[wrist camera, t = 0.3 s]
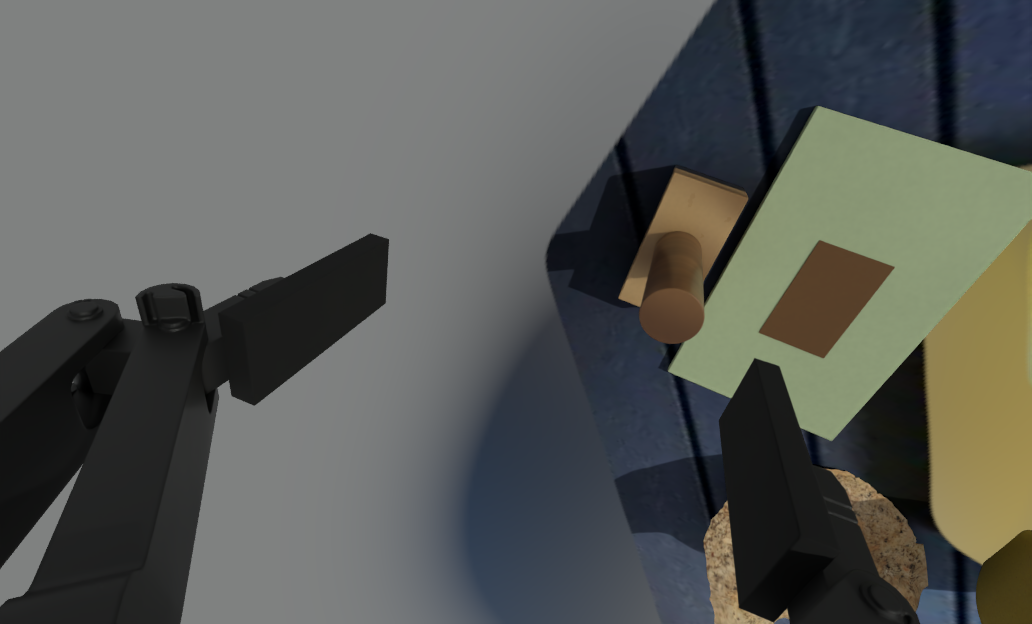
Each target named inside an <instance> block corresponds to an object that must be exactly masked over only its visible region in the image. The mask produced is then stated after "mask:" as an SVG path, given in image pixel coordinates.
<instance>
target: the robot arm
mask: <svg viewBox="0 0 1032 624" xmlns="http://www.w3.org/2000/svg"><path fill="white" fill-rule="evenodd" d="M388 247H389V239H386V238H383V237H380V236H377V235H374V234H371V233H370V234H369V235H367V236H365V237H363V238H361V239H359V240H357V241H355V242H353V243H351V244H349V245H348V246H345V247H344V248H342V249H340V250H338V251H336V252H334V253H332V254H330V255H328V256H326V257H325V258H322V259H321V260H319V261H317V262H315V263H313V264H311V265H309V266H307V267H305V268H303V269H301V270H299V271H298V272H296V273H294V274H292V275H290V276H288V277H286V278H283V277H279V278H274V279H270V280H266V281H262V282H261V283H259V284H257V285H254V286H252V287H250V288H249V290H245V291H243V292H240V293H239V294H238V295H237V296H236V295H235V296H232V297H231V298H229V299H227V300H225V301H223V302H221V303H219V304H217V305H215V306H213V307H211V308H209V309H207V310H205V311H203V308H202V303H201V297H200V292H199V290H198V289H196V288H195V287H194V286H190V285H187V284H178V283H171V284H161V285H157V286H153V287H149V288H147V289H145V290H143V291H141V292H140V293H139V294H138V295H137V296H136V297H135V298H136V302H137V306H138V309H139V313H140V316H141V320H142V321H137V320H130V319H122V317H121V314H120V310H119V307H118V305H117V304H116V303H114V302H112V301H109V300H103V299H84V300H78V301H74V302H72V303H69V304H66V305H63V306H61V307H59V308H57V309H56V310H54V311H53V312H51V313H50V314H49V315H47V316H46V317H45V318H44V319H42V320H41V321H40V322H38V323H37V324H36V325H34V326H33V327H32V328H30V329H29V330H28V331H27V332H25V333H24V334H23V335H21V336H20V337H19V338H17V339H16V340H15V341H14V342H12V343H11V344H10V345H9V346H7V347H6V348H4V350H2V351H1V352H0V569H1V567H2V566H3V565H4V563H5V562H6V560H8V558H9V557H10V556H11V555H12V553H13V552H14V551H15V549H16V548H17V547H18V546H19V544H20V543H21V542H22V540H23V539H24V538H25V537H26V535H27V534H28V533H29V532H30V530H31V529H32V528H33V527H34V525H35V524H36V523H37V522H38V520H39V519H40V518H41V517H42V515H43V514H44V513H45V511H46V510H47V509H48V508H49V506H50V505H51V504H52V502H53V501H54V500H55V499H56V497H57V496H58V495H59V494H60V492H61V491H62V490H63V489H64V487H65V486H66V485H67V483H68V482H69V481H70V480H71V478H72V477H73V476H74V475H75V473H76V472H77V471H78V470H79V468H80V467H81V465H82V464H83V466H82V468H81V470H80V473H79V475H78V477H77V480H76V482H75V484H74V487H73V490H72V491H71V494H70V496H69V498H68V501H67V503H66V505H65V508H64V510H63V512H62V515H61V517H60V519H59V522H58V524H57V526H56V529H55V531H54V533H53V536H52V538H51V540H50V542H49V545H48V547H47V549H46V552H45V554H44V557H43V559H42V561H41V564H40V566H39V568H38V570H37V573H36V575H35V577H34V580H33V582H32V584H31V586H30V588H29V589H28V591H27V592H26V593H25V594H24V595H23V596H21V597H16V598H13V599H8V600H7V601H6V602H5V603H4V604H3V605H2V606H1V607H0V624H180V622H181V617H182V611H183V605H184V599H185V593H186V587H187V581H188V576H189V570H190V564H191V558H192V552H193V545H194V540H195V535H196V528H197V523H198V517H199V511H200V505H201V500H202V494H203V487H204V482H205V476H206V470H207V464H208V458H209V453H210V446H211V441H212V434H213V429H214V423H215V417H216V412H217V406H218V400H219V395H218V389H217V387H219V386H220V385H222V384H223V383H225V382H226V381H228V380H229V383H230V389H231V395H232V396H233V397H235V398H237V399H240V400H242V401H245V402H247V403H249V404H252V405H256V404H257V403H259V402H260V401H261V400H263V399H264V398H265V397H266V396H268V395H269V394H270V393H271V392H273V391H274V390H275V389H277V388H278V387H279V386H280V385H282V384H283V383H284V382H285V381H287V380H288V379H289V378H291V377H292V376H293V375H294V374H296V373H297V372H298V371H299V370H301V369H302V368H303V367H305V366H306V365H307V364H308V363H310V362H311V361H312V360H314V359H315V358H316V357H317V356H319V355H320V354H321V353H323V352H324V351H325V350H326V349H328V348H329V347H330V346H332V345H333V344H334V343H335V342H337V341H338V340H339V339H340V338H342V337H343V336H344V335H345V334H347V333H348V332H349V331H351V330H352V329H353V328H355V327H356V326H357V325H358V324H360V323H361V322H362V321H363V320H365V319H366V318H367V317H369V316H370V315H371V314H372V313H374V312H375V311H376V310H377V309H379V308H380V307H381V306H383V305H384V304H385V303H386V284H387V283H386V282H387V266H388ZM73 381H74V383H72V382H73ZM719 427H720V436H721V446H722V455H723V464H724V474H725V483H726V492H727V502H728V511H729V520H730V530H731V539H732V548H733V557H734V567H735V576H736V585H737V595H738V604H739V608H740V609H742V610H745V611H747V612H750V613H752V614H754V615H757V616H759V617H762V618H764V619H766V620H769V621H771V622H775V621H776V620H777V619H778V618H779V617H780V615H781V614H782V613H783V612H784V611H785V610H786V609H787V610H788V615H789V620H790V624H920V622H919V619H918V616H917V614H916V612H915V611H914V609H913V608H912V606H911V605H910V603H909V602H908V600H907V599H906V598H905V597H904V596H903V595H902V594H901V593H900V592H899V591H898V590H897V589H896V588H895V587H894V586H892V585H891V584H890V583H888V582H887V581H885V580H884V579H883V578H881V577H880V576H879V573H878V571H877V568H876V566H875V563H874V561H873V558H872V556H871V553H870V550H869V548H868V545H867V543H866V540H865V538H864V535H863V533H862V530H861V528H860V526H859V525H858V520H857V517H856V515H855V512H854V511H853V510H852V508H853V507H852V505H851V502H850V500H849V497H848V494H847V492H846V490H845V488H844V487H843V486H842V485H841V483H840V482H839V481H838V479H837V478H836V477H835V476H834V474H833V473H832V472H831V471H829V470H826V469H823V468H820V467H817V466H815V465H812V462H811V459H810V456H809V453H808V450H807V447H806V444H805V441H804V438H803V435H802V432H801V429H800V426H799V423H798V420H797V417H796V414H795V411H794V408H793V405H792V402H791V399H790V396H789V393H788V390H787V387H786V384H785V381H784V378H783V375H782V372H781V369H780V366H778V365H775V364H772V363H769V362H766V361H762V360H759V359H756V358H754V360H753V362H752V363H751V365H750V367H749V369H748V370H747V372H746V374H745V376H744V377H743V379H742V381H741V383H740V384H739V386H738V388H737V390H736V391H735V393H734V395H733V397H732V398H731V400H730V402H729V403H728V405H727V407H726V409H725V410H724V412H723V414H722V416H721V417H720V419H719Z"/></svg>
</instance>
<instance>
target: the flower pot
mask: <svg viewBox="0 0 1032 624" xmlns="http://www.w3.org/2000/svg"><path fill="white" fill-rule="evenodd" d="M976 603H977V609H978V614H979V617H980V620H981V623H982V624H1032V530H1025V531H1022V532H1021V533H1020V534H1018V535H1017V536H1016V537H1015V538H1014V539H1012V540H1011V541H1010V542H1009V543H1008V544H1006V545H1005V546H1004V547H1003V548H1002V549H1000V550H999V551H998V552H996V553H995V554H994V555H993V556H992V557H991V558H989V559H988V560H986V561H985V562H984V563H983V565H982V568H981V571H980V573H979V577H978V581H977V587H976Z"/></svg>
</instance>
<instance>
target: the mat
mask: <svg viewBox="0 0 1032 624" xmlns="http://www.w3.org/2000/svg"><path fill="white" fill-rule="evenodd" d="M1031 219H1032V172H1030V171H1027V170H1023V169H1020V168H1017V167H1014V166H1010V165H1007V164H1004V163H1001V162H998V161H994V160H991V159H988V158H985V157H981V156H978V155H975V154H972V153H969V152H965V151H962V150H959V149H956V148H952V147H949V146H946V145H943V144H940V143H936V142H933V141H930V140H927V139H923V138H920V137H917V136H914V135H910V134H907V133H904V132H901V131H898V130H894V129H891V128H888V127H885V126H881V125H878V124H875V123H872V122H869V121H865V120H862V119H859V118H856V117H852V116H849V115H846V114H843V113H840V112H836V111H833V110H830V109H827V108H823V107H820V106H816V107H815V108H814V110H813V112H812V114H811V115H810V117H809V119H808V121H807V123H806V124H805V126H804V128H803V130H802V131H801V133H800V135H799V137H798V138H797V140H796V142H795V144H794V146H793V147H792V149H791V151H790V153H789V154H788V156H787V158H786V160H785V162H784V163H783V165H782V167H781V169H780V170H779V172H778V174H777V176H776V177H775V179H774V181H773V183H772V185H771V186H770V188H769V190H768V192H767V193H766V195H765V197H764V199H763V201H762V202H761V204H760V206H759V208H758V209H757V211H756V213H755V215H754V217H753V218H752V220H751V222H750V224H749V225H748V227H747V229H746V231H745V232H744V234H743V236H742V238H741V240H740V241H739V243H738V245H737V247H736V248H735V250H734V252H733V254H732V256H731V257H730V259H729V261H728V263H727V264H726V266H725V268H724V270H723V271H722V273H721V275H720V277H719V279H718V280H717V282H716V284H715V286H714V287H713V289H712V291H711V293H710V295H709V296H708V298H707V300H706V302H705V303H704V315H705V318H704V323H703V326H702V328H701V330H700V331H699V332H698V333H697V335H695V336H694V337H693V338H691V339H690V340H688V341H685V342H682V344H681V346H680V348H679V350H678V351H677V353H676V355H675V357H674V358H673V360H672V362H671V364H670V366H669V367H668V372H670V373H672V374H675V375H677V376H679V377H682V378H684V379H686V380H689V381H691V382H694V383H696V384H698V385H701V386H703V387H705V388H708V389H710V390H712V391H715V392H717V393H719V394H722V395H724V396H727V397H729V398H732V397H733V395H734V393H735V391H736V390H737V388H738V386H739V384H740V383H741V381H742V379H743V377H744V376H745V374H746V372H747V370H748V369H749V367H750V365H751V363H752V362H753V360H754V358H756V359H759V360H762V361H766V362H769V363H772V364H775V365H778V366H780V369H781V372H782V375H783V378H784V381H785V384H786V387H787V390H788V393H789V396H790V399H791V402H792V405H793V408H794V411H795V414H796V417H797V420H798V423H799V426H800V428H802V429H804V430H807V431H809V432H811V433H814V434H816V435H819V436H821V437H823V438H826V439H828V440H830V441H832V440H833V439H834V438H835V437H836V436H837V435H838V433H839V432H840V431H841V430H842V429H843V428H844V427H845V426H846V425H847V423H848V422H849V421H850V420H851V419H852V418H853V417H854V416H855V415H856V413H857V412H858V411H859V410H860V409H861V408H862V407H863V406H864V405H865V403H866V402H867V401H868V400H869V399H870V398H871V397H872V396H873V395H874V393H875V392H876V391H877V390H878V389H879V388H880V387H881V386H882V385H883V383H884V382H885V381H886V380H887V379H888V378H889V377H890V376H891V375H892V373H893V372H894V371H895V370H896V369H897V368H898V367H899V366H900V365H901V363H902V362H903V361H904V360H905V359H906V358H907V357H908V356H909V354H910V353H911V352H912V351H913V350H914V349H915V348H916V347H917V346H918V344H919V343H920V342H921V341H922V340H923V339H924V338H925V337H926V336H927V334H928V333H929V332H930V331H931V330H932V329H933V328H934V327H935V326H936V324H937V323H938V322H939V321H940V320H941V319H942V318H943V317H944V316H945V314H946V313H947V312H948V311H949V310H950V309H951V308H952V307H953V306H954V304H955V303H956V302H957V301H958V300H959V299H960V298H961V297H962V295H963V294H964V293H965V292H966V291H967V290H968V289H969V288H970V287H971V285H972V284H973V283H974V282H975V281H976V280H977V279H978V277H980V275H981V274H982V273H983V272H984V271H985V270H986V269H987V268H988V267H989V265H990V264H991V263H992V262H993V261H994V260H995V259H996V258H997V256H998V255H999V254H1000V253H1001V252H1002V251H1003V250H1004V249H1005V248H1006V247H1007V245H1008V244H1009V243H1010V242H1011V241H1012V240H1013V239H1014V238H1015V237H1016V235H1017V234H1018V233H1019V232H1020V231H1021V230H1022V229H1023V228H1024V226H1025V225H1026V224H1027V223H1028V222H1029V221H1030V220H1031Z"/></svg>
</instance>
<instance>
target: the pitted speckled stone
mask: <svg viewBox="0 0 1032 624" xmlns="http://www.w3.org/2000/svg"><path fill="white" fill-rule="evenodd" d="M823 469H825V468H823ZM826 470H829V471H831V472H832V473H833V474H834V476H835V477H836V478H837V479H838V481H839V482H840V483H841V485H842V486H843V487H844V488H845V490H846V492H847V494H848V497H849V500H850V502H851V505H852V507H853V508H852V510H853V511H854V512H855V515H856V517H857V520H858V525H859V526H860V528H861V530H862V533H863V535H864V538H865V540H866V543H867V545H868V548H869V550H870V553H871V556H872V558H873V561H874V563H875V566H876V568H877V571H878V573H879V576H880V577H881V578H883V579H884V580H885V581H887V582H888V583H890V584H891V585H892V586H894V587H895V588H896V589H897V590H898V591H899V592H900V593H901V594H902V595H903V596H904V597H905V598H906V599H907V600H908V602H909V603H910V605H911V606H912V608H913V609H914V611H915V612H916V610H917V608H918V604H919V599H920V595H921V592H922V590H923V589H924V588H925V587H927V586H928V576H927V565H926V557H925V551H924V546H923V544H917V543H915V542H916V537H915V536H914V534H913V531H912V530H911V528H910V527H909V526H908V524H907V523H908V522H907V519H906V518H905V517H904V516H903V515H902V514H901V513H900V512H899V510H898V509H896V508H895V507H894V505H893V503H892V502H891V501H889V500H888V499H887V498H885V497H883V496H882V494H877V491H876V490H875V489H874V488H873V487H871V486H870V485H869V484H868V483H865V482H864V481H862V480H861V479H860V478H855V476H854V475H852V474H851V473H849V472H847V471H840V470H836V469H833V470H831V469H826ZM703 542H704V550H705V554H706V559H707V577H708V580H709V582H710V584H711V585H710V590H711V597H710V601H711V603H712V605H713V608H714V613H715V619H714V622H715V624H774V622H771V621H769V620H766V619H764V618H762V617H759V616H757V615H754V614H752V613H750V612H747V611H745V610H742V609H740V608H739V604H738V595H737V585H736V576H735V567H734V557H733V548H732V539H731V530H730V520H729V511H728V502H727V501H726V502H725V504H724V507H723V508H722V509H720V511H719V513H717V515H716V516H715V517H713V518H712V519H711V523H710V526H709V528H708V530H707V533H706V535H705V538H704V541H703ZM780 618H788V619H789V615H788V610H787V609H786V610H785V611H784V612H783V613H782V614H781V615H780V617H779V618H778V619H780ZM778 619H777V620H778Z"/></svg>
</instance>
